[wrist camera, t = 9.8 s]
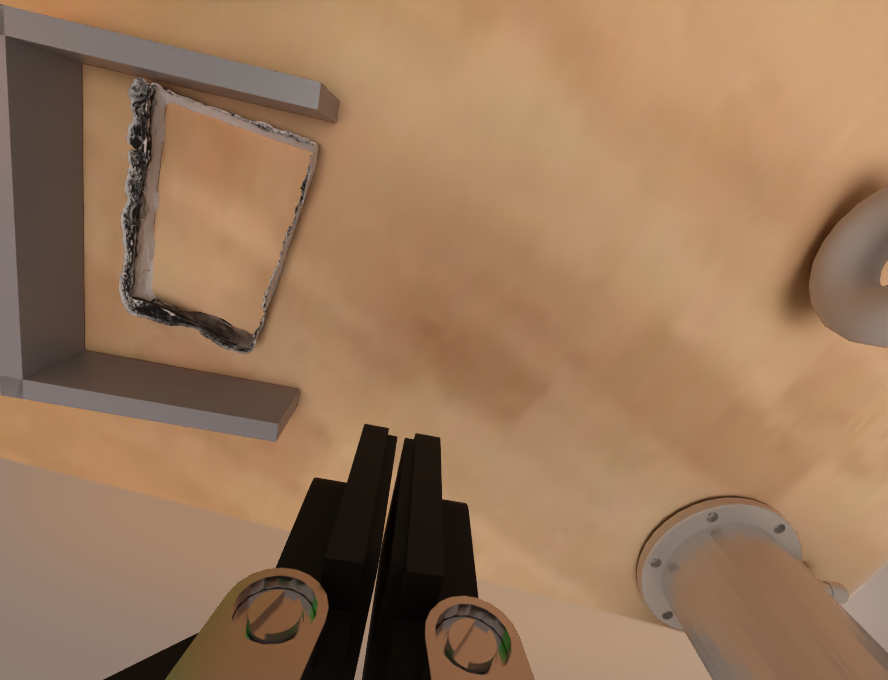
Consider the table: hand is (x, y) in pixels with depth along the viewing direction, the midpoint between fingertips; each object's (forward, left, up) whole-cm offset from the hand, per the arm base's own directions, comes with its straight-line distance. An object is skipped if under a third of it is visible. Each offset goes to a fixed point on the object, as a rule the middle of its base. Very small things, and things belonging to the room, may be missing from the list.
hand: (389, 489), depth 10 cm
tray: (+13, 0, -21) cm, 25 cm away
